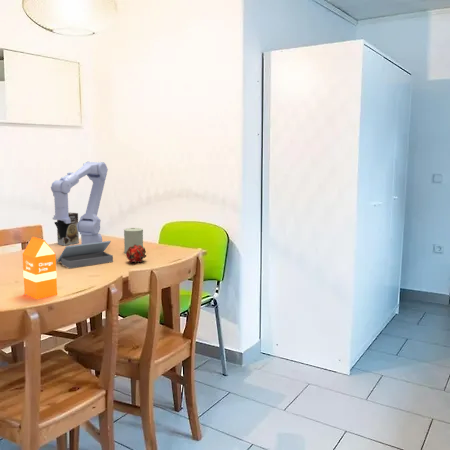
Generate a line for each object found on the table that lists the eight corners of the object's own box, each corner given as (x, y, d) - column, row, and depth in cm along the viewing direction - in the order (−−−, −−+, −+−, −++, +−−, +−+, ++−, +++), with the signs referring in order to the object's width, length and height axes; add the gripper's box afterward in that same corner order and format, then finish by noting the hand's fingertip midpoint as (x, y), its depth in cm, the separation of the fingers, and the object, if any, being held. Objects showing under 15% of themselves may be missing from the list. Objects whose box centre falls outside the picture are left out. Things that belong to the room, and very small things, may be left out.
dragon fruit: (143, 262, 227) (133, 272, 215) (128, 251, 227) (117, 260, 215) (152, 248, 223) (142, 258, 212) (137, 237, 223) (127, 246, 212)
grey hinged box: (103, 258, 227) (103, 251, 226) (112, 261, 220) (112, 255, 219) (61, 264, 214) (61, 257, 213) (69, 268, 207) (69, 261, 207)
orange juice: (36, 299, 166) (33, 241, 163) (24, 294, 172) (21, 237, 168) (57, 294, 172) (55, 238, 168) (45, 289, 177) (42, 235, 174)
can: (141, 250, 245) (141, 226, 243) (144, 254, 236) (144, 229, 234) (123, 251, 242) (122, 227, 240) (125, 255, 233) (125, 230, 232)
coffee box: (65, 246, 252) (64, 214, 250) (57, 244, 256) (56, 213, 253) (79, 243, 260) (78, 213, 257) (71, 241, 263) (70, 212, 261)
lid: (100, 256, 230) (98, 251, 230) (110, 241, 220) (109, 236, 221) (57, 262, 217) (56, 257, 218) (66, 247, 207) (64, 242, 208)
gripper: (46, 206, 221) (48, 235, 223) (58, 209, 210) (60, 240, 212) (62, 205, 226) (63, 234, 228) (74, 208, 215) (75, 239, 217)
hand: (62, 237), depth 220 cm, fingers closed
